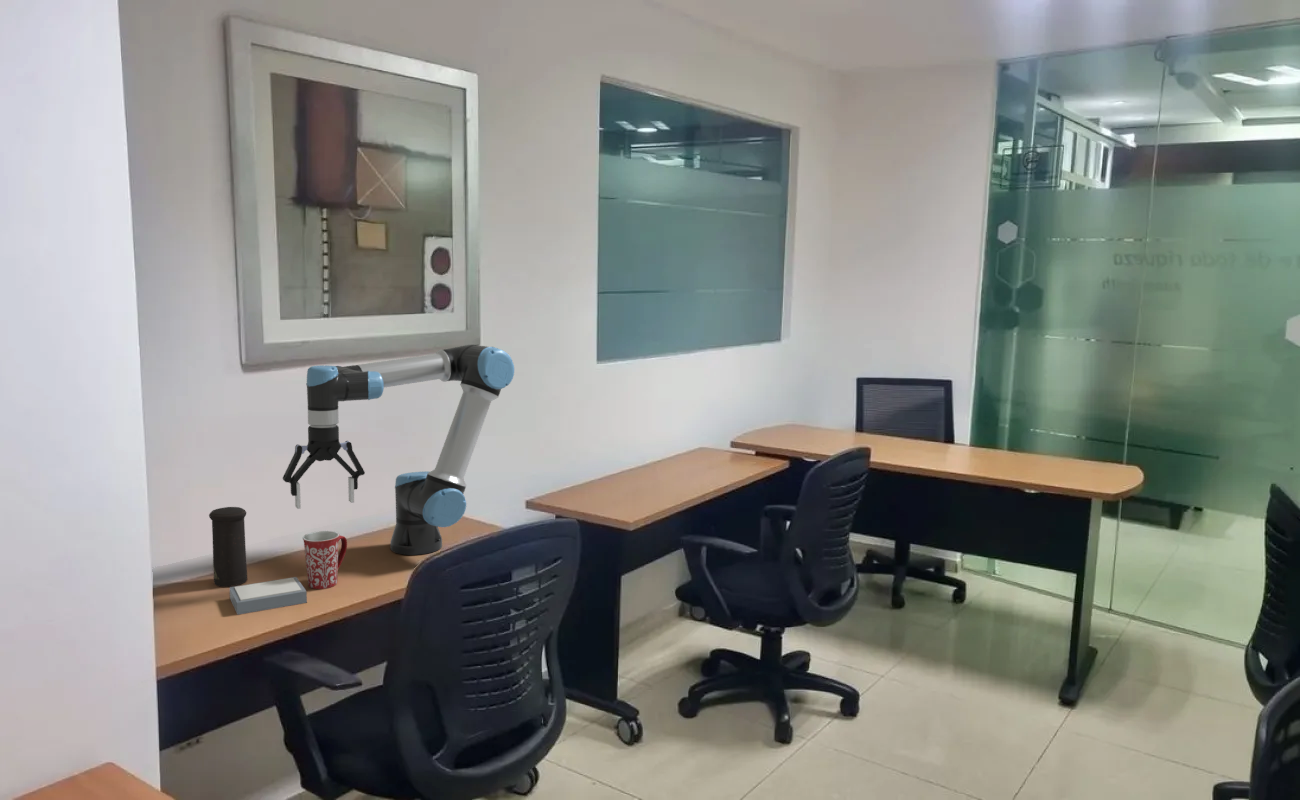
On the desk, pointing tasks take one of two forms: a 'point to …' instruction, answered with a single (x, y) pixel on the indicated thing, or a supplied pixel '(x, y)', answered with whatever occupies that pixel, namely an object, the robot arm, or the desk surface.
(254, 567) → the desk surface
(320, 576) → the mug
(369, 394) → the robot arm
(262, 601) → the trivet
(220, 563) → the container
